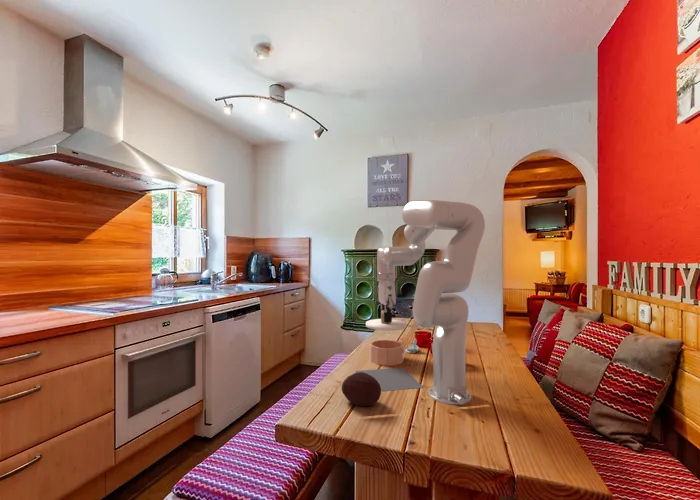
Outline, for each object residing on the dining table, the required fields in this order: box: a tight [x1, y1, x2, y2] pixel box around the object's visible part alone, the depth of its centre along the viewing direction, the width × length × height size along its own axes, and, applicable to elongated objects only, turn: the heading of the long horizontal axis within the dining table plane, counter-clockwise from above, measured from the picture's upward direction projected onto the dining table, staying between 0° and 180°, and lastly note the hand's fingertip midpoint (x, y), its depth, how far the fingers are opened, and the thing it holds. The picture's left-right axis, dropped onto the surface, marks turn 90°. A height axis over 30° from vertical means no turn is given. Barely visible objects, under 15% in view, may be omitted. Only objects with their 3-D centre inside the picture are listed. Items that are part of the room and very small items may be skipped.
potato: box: [341, 372, 382, 407], centre depth 91 cm, size 9×12×9 cm
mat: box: [355, 367, 425, 392], centre depth 109 cm, size 19×19×1 cm
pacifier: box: [405, 337, 419, 354], centre depth 143 cm, size 7×6×6 cm
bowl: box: [368, 339, 405, 366], centre depth 130 cm, size 14×14×7 cm
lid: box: [365, 310, 407, 332], centre depth 130 cm, size 17×17×6 cm
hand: (386, 320), depth 130 cm, fingers closed on lid, 4 cm apart
